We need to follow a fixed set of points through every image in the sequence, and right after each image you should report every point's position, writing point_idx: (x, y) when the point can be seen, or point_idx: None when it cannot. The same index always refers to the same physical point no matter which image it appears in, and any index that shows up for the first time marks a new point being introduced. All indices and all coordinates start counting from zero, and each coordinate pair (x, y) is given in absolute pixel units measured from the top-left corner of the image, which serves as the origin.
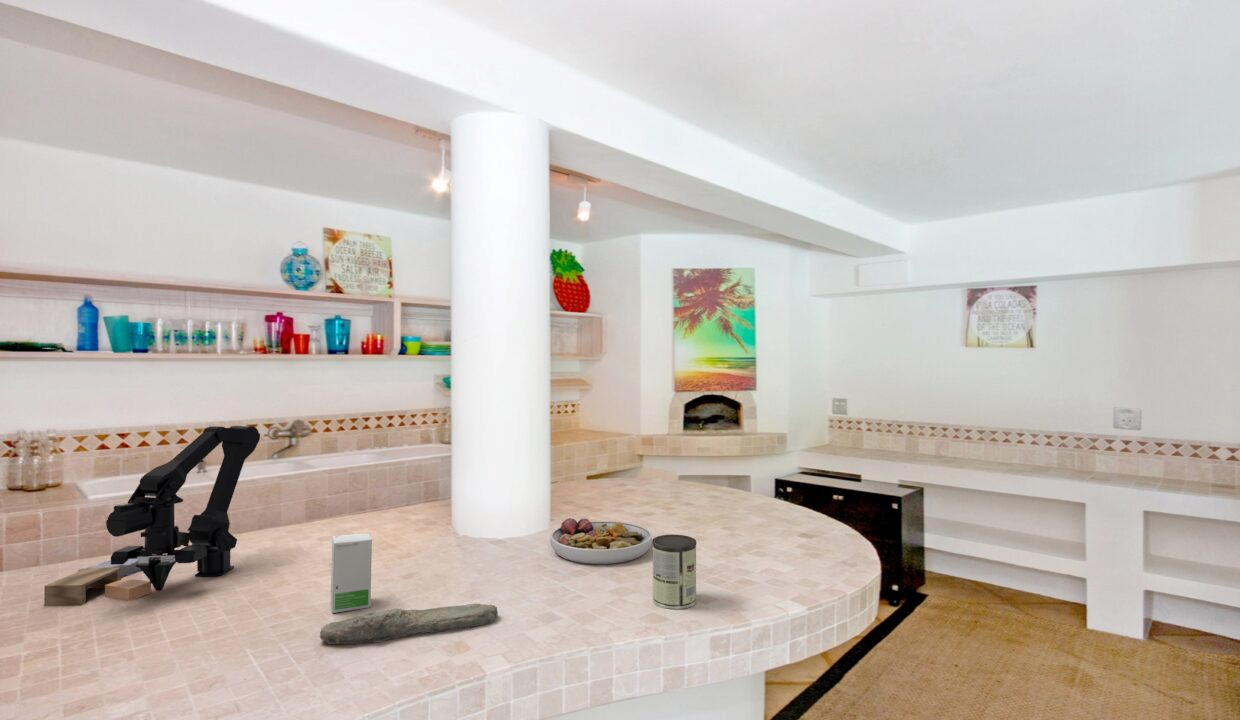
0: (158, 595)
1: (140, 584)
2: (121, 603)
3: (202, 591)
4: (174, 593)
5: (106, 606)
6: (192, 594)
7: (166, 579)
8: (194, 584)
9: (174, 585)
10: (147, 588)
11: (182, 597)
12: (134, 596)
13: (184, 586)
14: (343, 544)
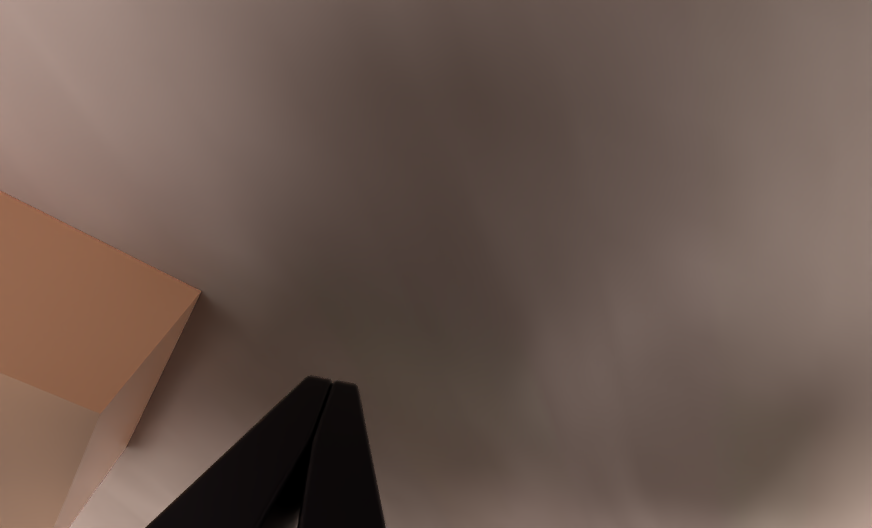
0: None
1: (34, 487)
2: (115, 490)
3: (838, 414)
4: (518, 390)
5: None
6: (727, 464)
7: (381, 508)
8: (735, 86)
9: (384, 37)
10: (144, 378)
11: (635, 505)
12: (127, 436)
13: (579, 152)
14: None
